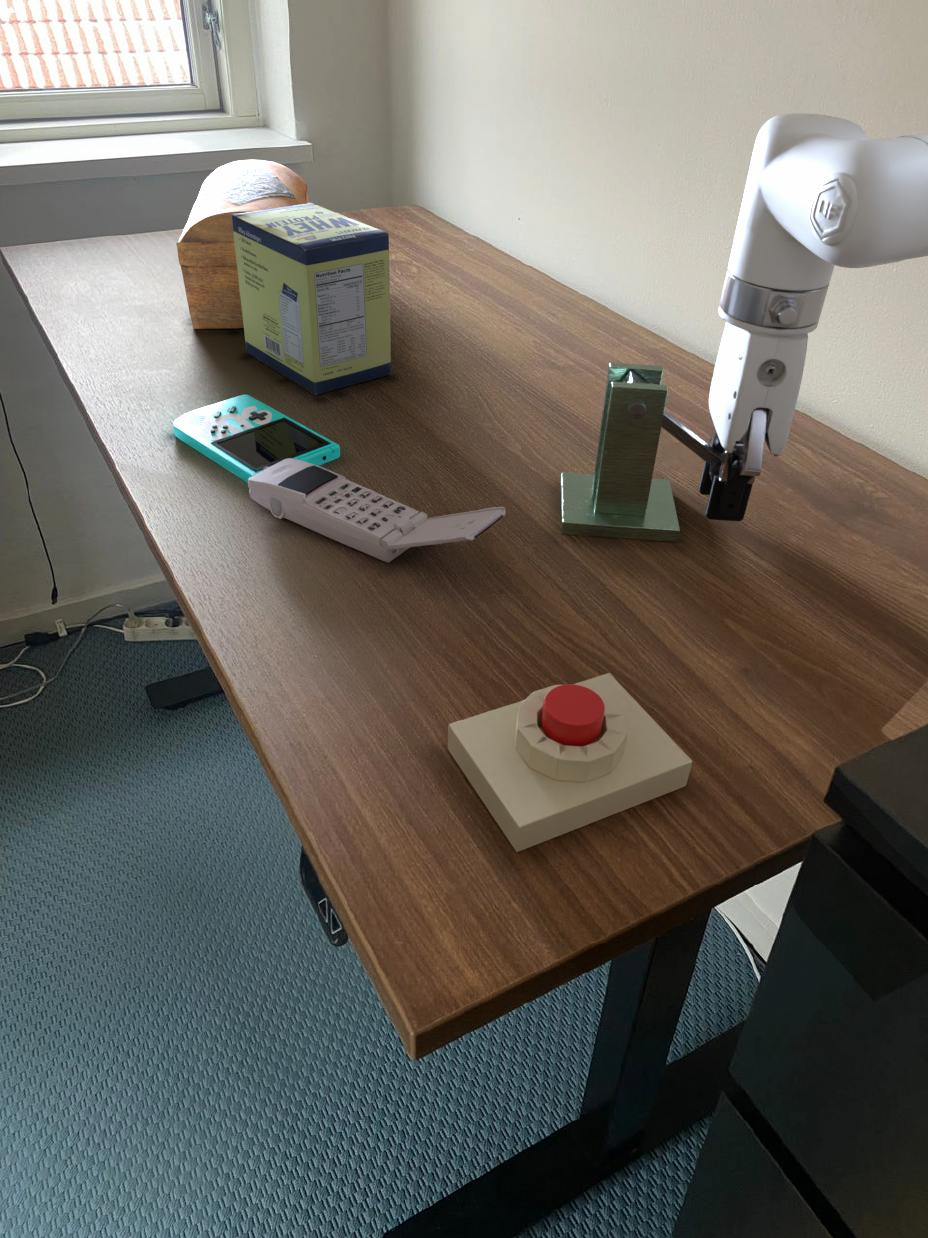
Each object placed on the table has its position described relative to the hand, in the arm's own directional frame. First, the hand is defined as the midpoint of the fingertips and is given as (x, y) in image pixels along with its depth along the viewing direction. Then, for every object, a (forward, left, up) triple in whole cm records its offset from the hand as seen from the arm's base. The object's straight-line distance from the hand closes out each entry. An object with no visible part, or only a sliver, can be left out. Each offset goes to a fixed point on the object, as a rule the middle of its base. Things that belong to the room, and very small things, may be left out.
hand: (720, 504), depth 82 cm
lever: (+5, 0, +5) cm, 7 cm away
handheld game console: (+44, -8, -2) cm, 45 cm away
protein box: (+42, -29, -2) cm, 51 cm away
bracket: (+9, 0, -1) cm, 9 cm away
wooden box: (+55, -53, -2) cm, 76 cm away
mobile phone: (+31, +7, -2) cm, 32 cm away
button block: (+14, +32, -1) cm, 35 cm away
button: (+14, +32, +2) cm, 35 cm away
